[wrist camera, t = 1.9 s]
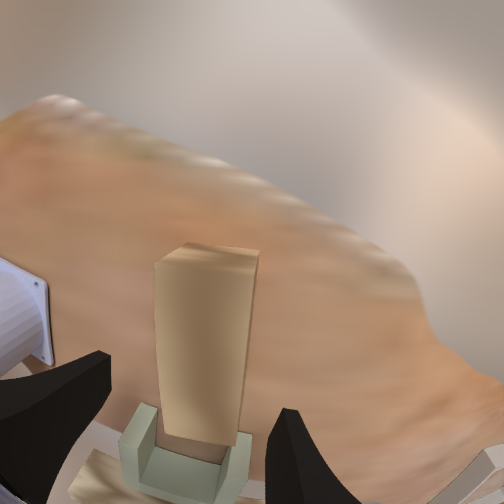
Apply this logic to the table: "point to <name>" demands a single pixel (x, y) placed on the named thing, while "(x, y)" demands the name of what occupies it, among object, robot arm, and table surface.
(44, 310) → the robot arm
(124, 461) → the block
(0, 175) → the table surface
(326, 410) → the table surface
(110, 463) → the wall
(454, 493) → the gray rectangular frame
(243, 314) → the peg
